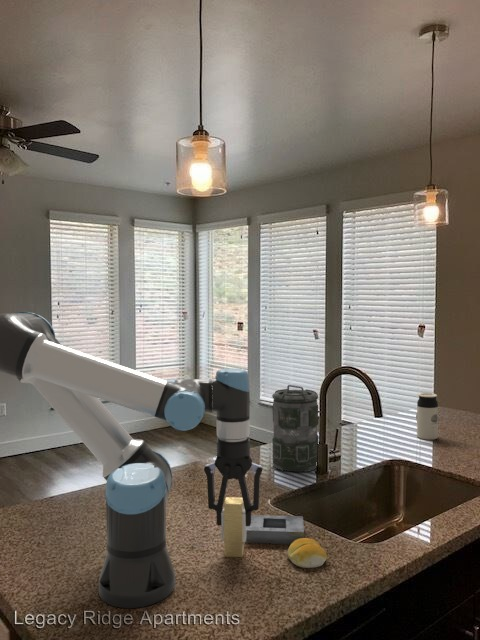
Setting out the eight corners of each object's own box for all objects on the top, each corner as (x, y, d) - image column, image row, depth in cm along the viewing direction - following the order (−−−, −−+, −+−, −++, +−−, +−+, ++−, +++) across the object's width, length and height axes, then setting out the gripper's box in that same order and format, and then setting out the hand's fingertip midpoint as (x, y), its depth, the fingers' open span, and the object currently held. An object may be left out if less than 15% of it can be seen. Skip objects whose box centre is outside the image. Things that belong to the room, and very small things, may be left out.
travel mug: (413, 436, 222) (413, 393, 221) (429, 434, 224) (429, 392, 224) (425, 440, 215) (425, 396, 214) (441, 439, 217) (442, 395, 216)
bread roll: (316, 548, 123) (316, 531, 123) (331, 566, 115) (331, 548, 115) (282, 551, 122) (282, 534, 122) (294, 571, 113) (294, 552, 113)
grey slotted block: (304, 544, 125) (304, 532, 125) (244, 542, 126) (244, 530, 126) (302, 528, 134) (302, 516, 134) (247, 526, 135) (247, 514, 135)
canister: (263, 465, 184) (262, 385, 183) (294, 456, 195) (293, 380, 194) (296, 476, 172) (296, 391, 171) (328, 466, 183) (327, 385, 182)
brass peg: (242, 557, 119) (241, 504, 118) (224, 556, 119) (224, 503, 119) (243, 548, 123) (243, 497, 122) (226, 548, 123) (226, 497, 123)
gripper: (271, 433, 123) (272, 533, 124) (198, 432, 125) (199, 530, 125) (270, 442, 116) (271, 547, 116) (193, 441, 117) (194, 545, 118)
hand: (234, 538), depth 121 cm, fingers closed on brass peg, 4 cm apart
